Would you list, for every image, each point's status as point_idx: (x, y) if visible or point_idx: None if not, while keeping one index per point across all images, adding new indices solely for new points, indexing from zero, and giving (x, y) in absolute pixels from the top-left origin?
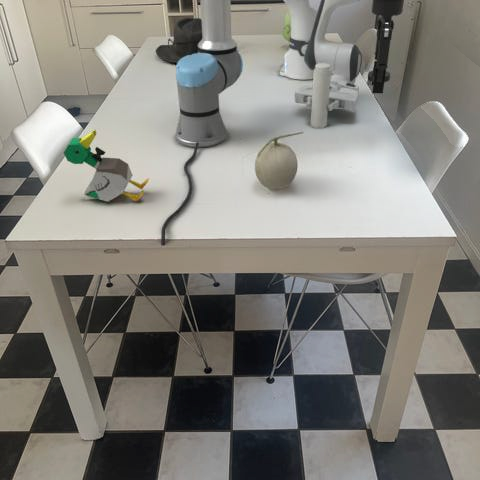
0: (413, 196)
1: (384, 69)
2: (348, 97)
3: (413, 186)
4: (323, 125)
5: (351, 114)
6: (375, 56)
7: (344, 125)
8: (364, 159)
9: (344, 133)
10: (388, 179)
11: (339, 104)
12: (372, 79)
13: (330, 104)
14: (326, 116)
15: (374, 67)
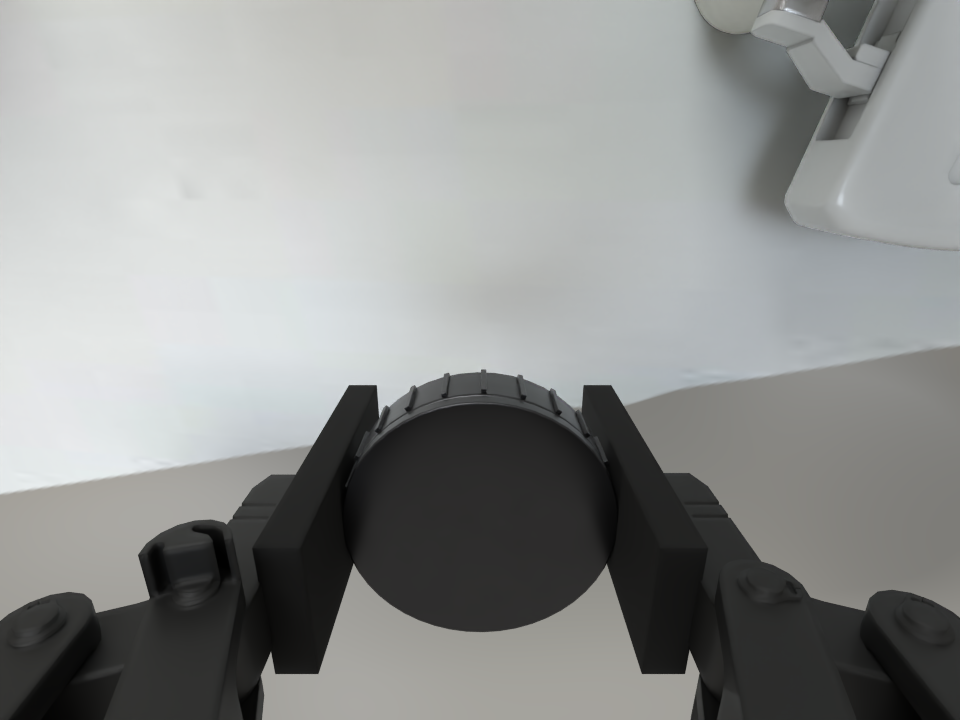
0: (24, 440)
1: (272, 650)
2: (889, 166)
3: (105, 446)
4: (703, 7)
5: None
6: (735, 615)
7: (727, 156)
8: (296, 263)
9: (609, 157)
10: (129, 360)
11: (854, 98)
12: (373, 431)
13: (794, 10)
14: (746, 9)
15: (149, 558)
